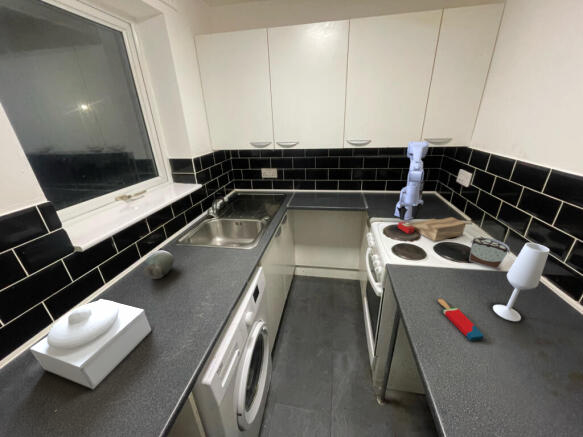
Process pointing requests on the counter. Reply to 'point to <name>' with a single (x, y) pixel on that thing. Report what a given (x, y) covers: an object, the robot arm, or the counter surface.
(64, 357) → the butter dish
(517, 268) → the white wine glass
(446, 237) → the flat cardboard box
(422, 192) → the coffee box
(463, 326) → the popsicle
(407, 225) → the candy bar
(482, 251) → the food container
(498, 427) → the counter surface
